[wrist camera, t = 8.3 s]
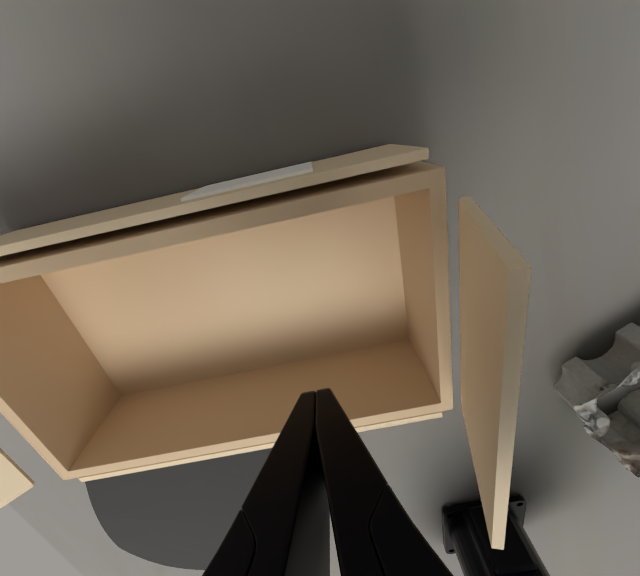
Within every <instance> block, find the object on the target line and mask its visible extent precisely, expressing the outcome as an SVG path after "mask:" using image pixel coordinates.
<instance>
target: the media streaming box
mask: <svg viewBox="0 0 640 576" xmlns="http://www.w3.org/2000/svg"><path fill="white" fill-rule="evenodd" d="M271 449H272V448H268V449H262V450H257V451H251V452H246V453H240V454H235V455H229V456H224V457H218V458H213V459H207V460H201V461H196V462H190V463H185V464H179V465H174V466H168V467H163V468H157V469H152V470H146V471H141V472H135V473H130V474H124V475H118V476H113V477H107V478H102V479H96V480H91V481H85V483H86V487H87V491H88V494H89V498H90V501H91V503H92V506H93V509H94V511H95V514H96V516H97V518H98V520H99V522H100V523H101V525H102V527H103V529H104V530H105V532H106V533H107V534H108V536H109V537H110V538H111V539H112V541H113V542H114V543H115V544H116V545H117V546H118V547H120V548H121V549H123V550H125V551H127V552H129V553H131V554H133V555H135V556H138V557H140V558H143V559H146V560H148V561H151V562H155V563H158V564H161V565H165V566H170V567H177V568H184V569H195V570H206V568H207V567H208V565H209V564H210V562H211V560H212V559H213V557H214V555H215V554H216V552H217V550H218V549H219V547H220V545H221V543H222V541H223V540H224V538H225V536H226V534H227V532H228V531H229V529H230V527H231V525H232V523H233V521H234V519H235V517H236V516H237V514H238V512H239V510H242V508H241V506H242V504H243V503H244V501H245V499H246V497H247V495H248V493H249V491H250V489H251V487H252V485H253V484H254V482H255V480H256V478H257V476H258V474H259V472H260V470H261V468H262V466H263V465H264V463H265V461H266V459H267V457H268V455H269V453H270V451H271Z"/></svg>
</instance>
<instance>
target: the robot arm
mask: <svg viewBox="0 0 640 576" xmlns="http://www.w3.org/2000/svg"><path fill="white" fill-rule="evenodd" d="M241 508H242V510H239V512H238V514H237V516H236V517H235V519H234V521H233V523H232V525H231V527H230V529H229V531H228V532H227V534H226V536H225V538H224V540H223V541H222V543H221V545H220V547H219V549H218V550H217V552H216V554H215V555H214V557H213V559H212V560H211V562H210V564H209V565H208V567H207V568H206V570H205V572H204V573H203V575H202V576H330V515H331V521H332V527H333V533H334V538H335V544H336V550H337V556H338V562H339V567H340V573H341V576H453V574H452V573H451V572H450V571H449V569H448V568H447V567H446V565H445V564H444V563H443V562H442V560H441V559H440V558H439V556H438V555H437V554H436V553H435V551H434V550H433V549H432V548H431V546H430V545H429V544H428V542H427V541H426V540H425V538H424V537H423V535H422V534H421V533H420V531H419V530H418V529H417V527H416V526H415V524H414V523H413V522H412V520H411V519H410V517H409V516H408V514H407V513H406V511H405V510H404V508H403V506H402V505H401V503H400V502H399V500H398V499H397V497H396V495H395V494H394V492H393V491H392V489H391V487H390V486H389V485H388V483H387V481H386V479H385V478H384V476H383V474H382V473H381V471H380V469H379V468H378V466H377V464H376V463H375V461H374V459H373V458H372V456H371V454H370V453H369V451H368V450H367V448H366V446H365V445H364V443H363V441H362V440H361V438H360V436H359V435H358V433H357V431H356V430H355V428H354V426H353V425H352V423H351V421H350V420H349V418H348V416H347V415H346V413H345V412H344V410H343V408H342V407H341V405H340V403H339V402H338V400H337V398H336V397H335V395H334V393H333V392H332V390H331V389H330V388H323V389H318V390H317V391H316V392H315V391H308V392H303V393H301V394H300V396H299V398H298V400H297V402H296V404H295V406H294V408H293V410H292V411H291V413H290V415H289V417H288V419H287V421H286V423H285V425H284V427H283V429H282V430H281V432H280V434H279V436H278V438H277V440H276V442H275V444H274V446H273V447H272V449H271V451H270V453H269V455H268V457H267V459H266V461H265V463H264V465H263V466H262V468H261V470H260V472H259V474H258V476H257V478H256V480H255V482H254V484H253V485H252V487H251V489H250V491H249V493H248V495H247V497H246V499H245V501H244V503H243V504H242V506H241ZM525 510H526V501H525V499H524V498H523V496H520V495H517V496H511V497H509V502H508V512H507V522H506V533H505V543H504V550H501V549H494V548H491V544H490V539H489V535H488V530H487V525H486V521H485V516H484V511H483V507H482V502H475V503H468V504H462V505H456V506H450V507H446V508H444V509H443V510H442V523H443V538H444V548H445V551H446V553H448V554H454V553H456V555H457V557H458V560H459V563H460V566H461V569H462V571H463V574H464V576H550V575H549V573H548V571H547V570H546V568H545V566H544V564H543V562H542V560H541V559H540V557H539V555H538V553H537V551H536V550H535V548H534V546H533V544H532V542H531V541H530V539H529V537H528V535H527V533H526V532H525V530H524V528H523V524H524V517H525Z"/></svg>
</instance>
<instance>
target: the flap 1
mask: <svg viewBox="0 0 640 576" xmlns="http://www.w3.org/2000/svg"><path fill="white" fill-rule="evenodd" d="M33 486H34V481H33V480H32V479H31V478H30V477H29V476H28V475H27V474H26V473H25V472H24V471H23V470H22V469H21V468H20V467H19V466H18V465H17V464H16V463H15V462H14V461H13V460H12V459H11V458H10V457H9V456H8V455H7V454H6V453H5V452H4V451H3V450H2V449H1V448H0V508H2V507H3V506H5V505H6V504H8V503H9V502H11V501H12V500H14V499H15V498H17V497H18V496H20V495H21V494H23V493H24V492H26V491H27V490H29V489H30V488H32V487H33Z"/></svg>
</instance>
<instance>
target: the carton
mask: <svg viewBox="0 0 640 576" xmlns="http://www.w3.org/2000/svg"><path fill="white" fill-rule="evenodd" d="M426 159H429V148H425V147H415V146H406V145H396V144H387V145H383V146H379V147H374V148H370V149H366V150H361V151H357V152H353V153H348V154H344V155H340V156H335V157H331V158H327V159H323V160H318V161H314V162H306V163H302V164H298V165H293V166H289V167H285V168H281V169H276V170H272V171H268V172H263V173H259V174H255V175H250V176H246V177H242V178H237V179H233V180H229V181H224V182H220V183H216V184H211V185H207V186H204V187H202V188H197V189H193V190H189V191H184V192H180V193H176V194H171V195H167V196H163V197H158V198H154V199H150V200H145V201H141V202H137V203H132V204H128V205H124V206H120V207H115V208H111V209H107V210H102V211H98V212H94V213H89V214H85V215H81V216H76V217H72V218H68V219H63V220H59V221H55V222H50V223H46V224H42V225H37V226H33V227H29V228H24V229H20V230H16V231H12V232H9V233H6V234H3V235H0V412H1V413H2V414H3V415H4V416H5V418H6V419H7V420H8V421H9V422H10V423H11V424H12V425H13V426H14V427H15V428H16V429H17V430H18V431H19V433H20V434H21V435H22V436H23V437H24V438H25V439H26V440H27V441H28V442H29V443H30V444H31V445H32V446H33V448H34V449H35V450H36V451H37V452H38V453H39V454H40V455H41V456H42V457H43V458H44V459H45V460H46V462H47V463H48V464H49V465H50V466H51V467H52V468H53V469H54V470H55V471H56V472H57V473H58V474H59V475H60V477H61V478H62V479H63V480H67V479H73V478H78V477H79V478H78V479H79V480H80V481H81V482H85V481H91V480H96V479H102V478H107V477H113V476H118V475H124V474H130V473H135V472H141V471H146V470H152V469H157V468H163V467H168V466H174V465H179V464H185V463H190V462H196V461H201V460H207V459H213V458H218V457H224V456H229V455H235V454H240V453H246V452H251V451H257V450H262V449H268V448H272V447H273V446H274V444H275V442H276V440H277V438H278V436H279V434H280V432H281V430H282V429H283V427H284V425H285V423H286V421H287V419H288V417H289V415H290V413H291V411H292V410H293V408H294V406H295V404H296V402H297V400H298V398H299V396H300V394H301V393H303V392H308V391H315V392H316V391H317V390H318V389H323V388H330V389H331V390H332V392H333V393H334V395H335V397H336V398H337V400H338V402H339V403H340V405H341V407H342V408H343V410H344V412H345V413H346V415H347V416H348V418H349V420H350V421H351V423H352V425H353V426H354V428H355V430H356V431H357V432H362V431H367V430H373V429H379V428H384V427H390V426H395V425H401V424H406V423H412V422H417V421H423V420H428V419H434V418H439V417H442V411H447V410H452V409H453V392H452V358H451V325H450V291H449V258H448V225H447V191H446V167H443V166H439V165H435V164H430V163H426V162H421V161H422V160H426Z"/></svg>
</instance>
